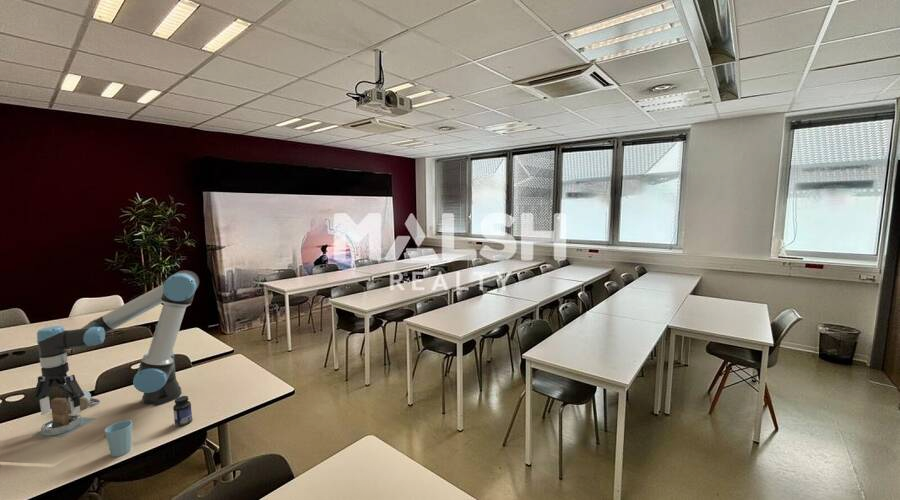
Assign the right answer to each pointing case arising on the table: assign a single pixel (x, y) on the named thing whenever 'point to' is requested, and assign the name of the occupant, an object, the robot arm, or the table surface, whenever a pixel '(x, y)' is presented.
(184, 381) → the table surface
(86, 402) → the ceramic mug
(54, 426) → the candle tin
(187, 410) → the pill bottle
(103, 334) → the robot arm
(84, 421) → the slate board
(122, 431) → the cup
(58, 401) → the brown wooden block
